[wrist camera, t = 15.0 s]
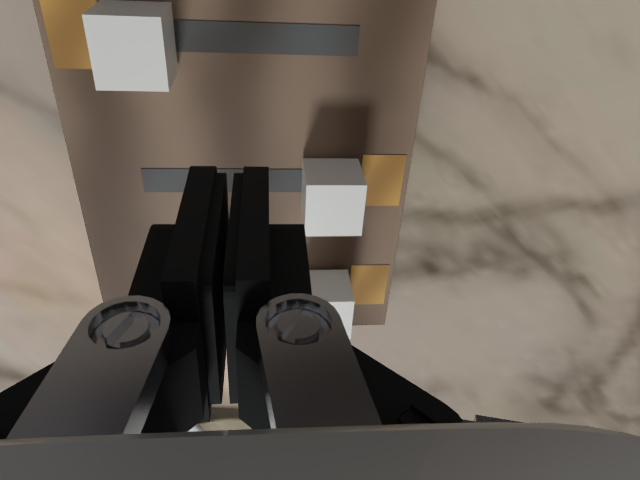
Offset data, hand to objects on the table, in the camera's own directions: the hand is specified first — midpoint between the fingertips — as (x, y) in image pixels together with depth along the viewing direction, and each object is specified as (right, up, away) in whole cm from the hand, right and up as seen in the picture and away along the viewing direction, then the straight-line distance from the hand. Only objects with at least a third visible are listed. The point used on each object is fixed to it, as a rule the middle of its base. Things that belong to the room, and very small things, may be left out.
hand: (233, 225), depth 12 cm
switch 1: (-6, +9, +12) cm, 16 cm away
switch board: (-2, +5, +20) cm, 20 cm away
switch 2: (+2, +3, +17) cm, 18 cm away
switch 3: (+2, -3, +22) cm, 22 cm away
